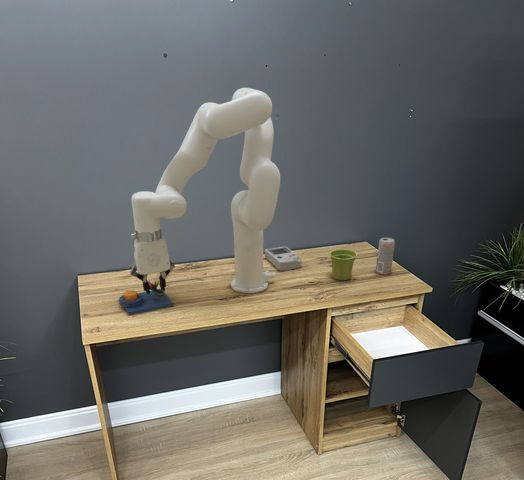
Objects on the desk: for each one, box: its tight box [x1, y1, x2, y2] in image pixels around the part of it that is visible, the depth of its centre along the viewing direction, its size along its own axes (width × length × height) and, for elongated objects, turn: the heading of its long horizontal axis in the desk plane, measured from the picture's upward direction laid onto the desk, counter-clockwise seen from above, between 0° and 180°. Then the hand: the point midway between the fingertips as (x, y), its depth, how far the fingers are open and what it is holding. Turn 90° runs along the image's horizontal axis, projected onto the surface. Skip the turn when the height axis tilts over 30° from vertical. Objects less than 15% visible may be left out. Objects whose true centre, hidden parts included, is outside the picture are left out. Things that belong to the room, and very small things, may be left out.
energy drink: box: [375, 237, 396, 276], centre depth 181 cm, size 5×5×12 cm
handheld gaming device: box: [264, 245, 302, 272], centre depth 191 cm, size 9×15×4 cm, turn 22°
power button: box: [123, 289, 138, 301], centre depth 160 cm, size 4×4×2 cm
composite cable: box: [147, 278, 165, 297], centre depth 162 cm, size 10×5×2 cm, turn 22°
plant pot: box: [328, 248, 358, 281], centre depth 178 cm, size 9×9×9 cm
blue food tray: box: [118, 288, 174, 316], centre depth 163 cm, size 15×12×3 cm
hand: (155, 290), depth 163 cm, fingers closed on composite cable, 4 cm apart
